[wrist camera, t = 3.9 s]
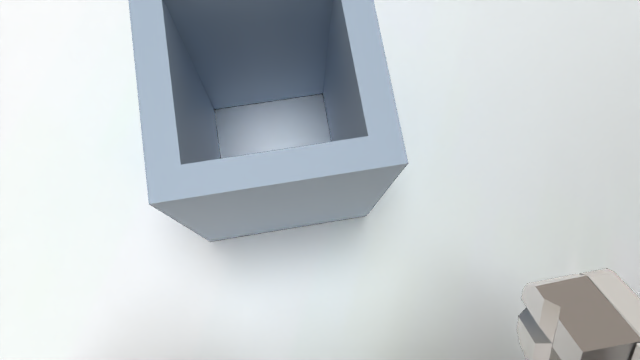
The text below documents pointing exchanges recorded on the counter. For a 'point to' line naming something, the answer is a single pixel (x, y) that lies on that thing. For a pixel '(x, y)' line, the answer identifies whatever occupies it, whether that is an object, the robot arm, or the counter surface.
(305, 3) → the open square bin
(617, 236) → the counter surface
